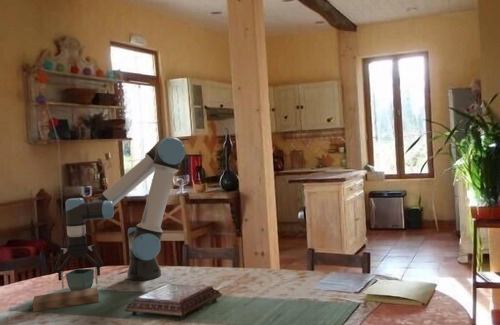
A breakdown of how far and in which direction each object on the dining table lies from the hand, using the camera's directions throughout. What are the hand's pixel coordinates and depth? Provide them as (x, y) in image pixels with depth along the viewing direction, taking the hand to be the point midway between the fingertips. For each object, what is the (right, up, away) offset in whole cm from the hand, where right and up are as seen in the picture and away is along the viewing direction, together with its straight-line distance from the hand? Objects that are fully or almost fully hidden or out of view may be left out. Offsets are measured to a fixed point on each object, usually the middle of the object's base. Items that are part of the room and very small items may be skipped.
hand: (80, 285), depth 236 cm
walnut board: (-1, -3, -15) cm, 15 cm away
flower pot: (+1, -3, 0) cm, 3 cm away
